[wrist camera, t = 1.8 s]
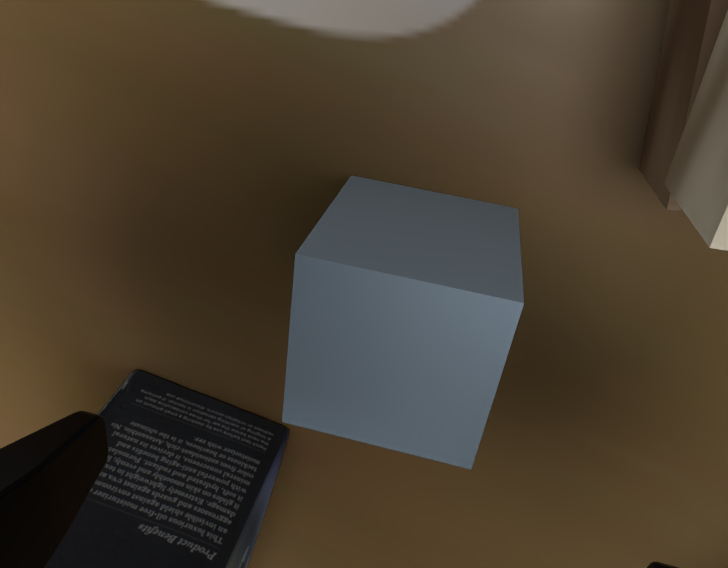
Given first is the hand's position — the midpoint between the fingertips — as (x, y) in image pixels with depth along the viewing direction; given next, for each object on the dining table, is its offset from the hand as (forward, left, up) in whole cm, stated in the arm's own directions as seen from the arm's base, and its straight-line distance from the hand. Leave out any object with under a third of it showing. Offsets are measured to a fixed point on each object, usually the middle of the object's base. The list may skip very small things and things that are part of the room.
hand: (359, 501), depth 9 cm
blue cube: (0, 0, -9) cm, 9 cm away
